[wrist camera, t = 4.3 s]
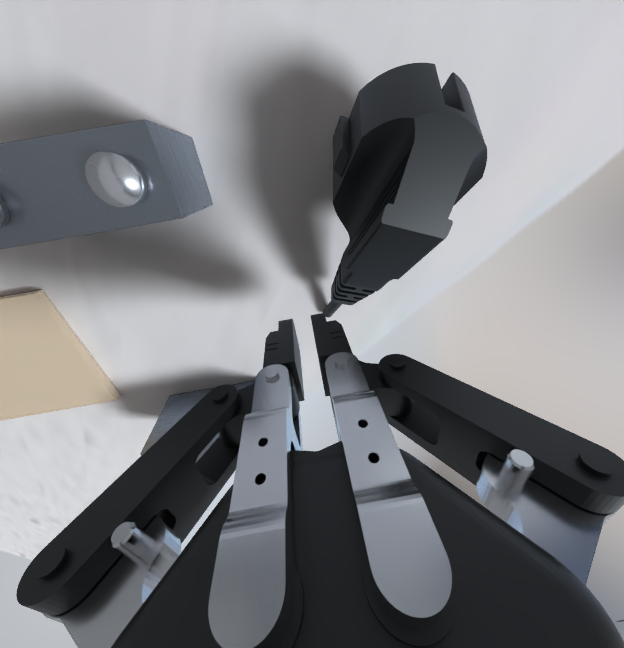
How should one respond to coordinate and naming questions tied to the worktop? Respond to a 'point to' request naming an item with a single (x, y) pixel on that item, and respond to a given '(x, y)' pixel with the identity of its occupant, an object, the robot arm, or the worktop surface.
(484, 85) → the worktop surface
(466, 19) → the worktop surface
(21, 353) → the mat
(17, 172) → the metal blocks
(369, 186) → the power plug
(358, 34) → the worktop surface
